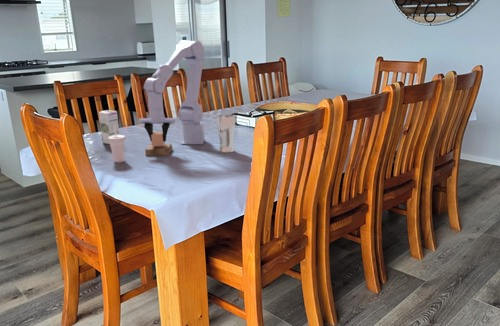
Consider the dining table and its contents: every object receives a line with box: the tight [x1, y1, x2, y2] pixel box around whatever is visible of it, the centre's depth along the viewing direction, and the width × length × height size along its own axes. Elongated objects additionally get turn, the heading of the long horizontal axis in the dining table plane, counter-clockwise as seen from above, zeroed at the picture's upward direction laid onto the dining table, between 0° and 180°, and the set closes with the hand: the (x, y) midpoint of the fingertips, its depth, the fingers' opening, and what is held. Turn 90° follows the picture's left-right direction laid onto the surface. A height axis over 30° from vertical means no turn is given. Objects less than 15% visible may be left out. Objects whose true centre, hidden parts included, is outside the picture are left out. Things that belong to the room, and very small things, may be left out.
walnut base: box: [144, 143, 173, 156], centre depth 178 cm, size 9×9×2 cm
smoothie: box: [108, 125, 126, 163], centre depth 165 cm, size 6×6×14 cm
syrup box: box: [98, 109, 120, 146], centre depth 191 cm, size 6×6×14 cm
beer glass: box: [217, 113, 236, 154], centre depth 178 cm, size 7×7×15 cm
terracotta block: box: [151, 131, 166, 146], centre depth 177 cm, size 4×4×5 cm
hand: (158, 140), depth 177 cm, fingers closed on terracotta block, 4 cm apart
